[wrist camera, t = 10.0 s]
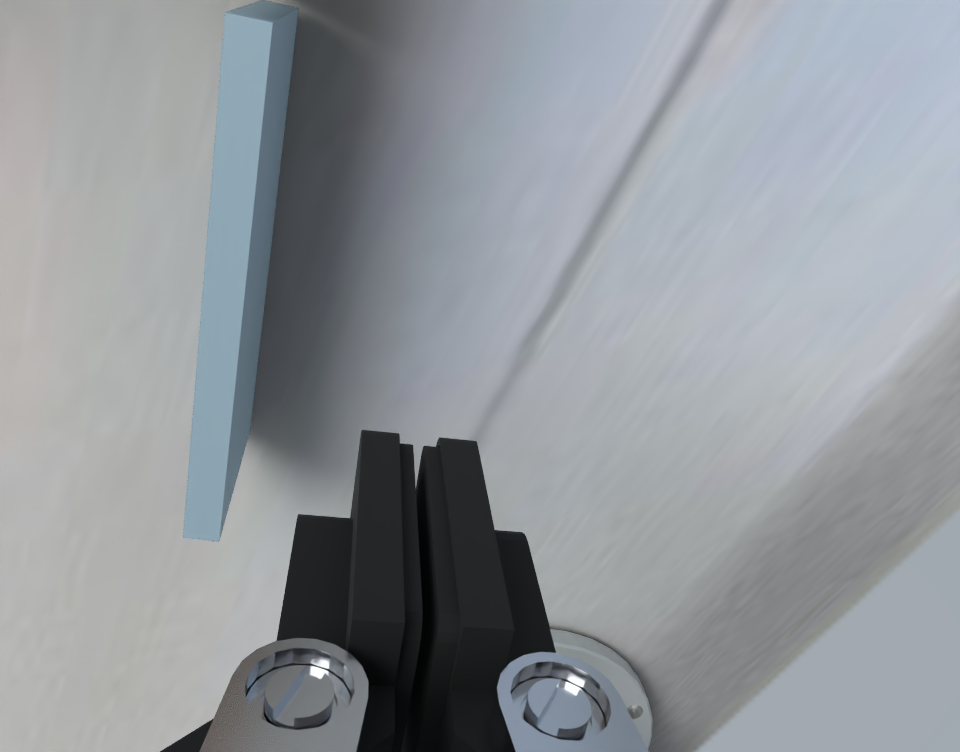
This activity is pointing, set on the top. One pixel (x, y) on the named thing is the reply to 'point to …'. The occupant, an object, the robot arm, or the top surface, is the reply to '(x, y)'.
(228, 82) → the blue grey rectangular panel
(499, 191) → the top surface
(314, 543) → the robot arm
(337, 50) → the top surface
